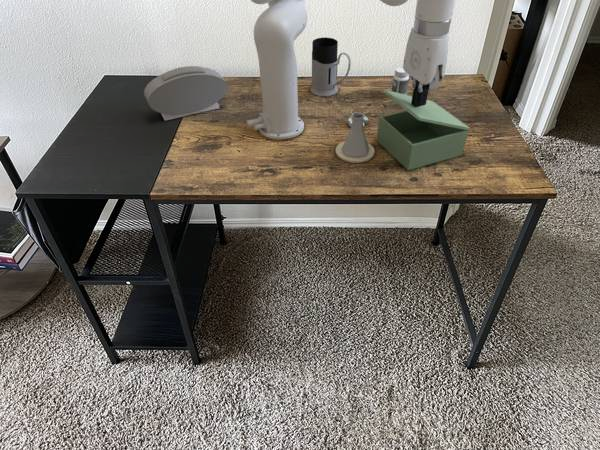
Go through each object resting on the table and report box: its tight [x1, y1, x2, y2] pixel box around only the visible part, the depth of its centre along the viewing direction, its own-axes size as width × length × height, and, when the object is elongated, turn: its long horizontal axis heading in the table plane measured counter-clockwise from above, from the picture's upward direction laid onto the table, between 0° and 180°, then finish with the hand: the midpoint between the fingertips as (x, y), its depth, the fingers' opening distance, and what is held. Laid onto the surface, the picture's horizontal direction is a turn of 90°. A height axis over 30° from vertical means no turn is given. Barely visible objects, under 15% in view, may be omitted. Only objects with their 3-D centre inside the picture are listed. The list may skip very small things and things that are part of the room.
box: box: [376, 109, 469, 171], centre depth 116 cm, size 16×15×7 cm
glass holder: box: [310, 36, 352, 97], centre depth 137 cm, size 9×14×15 cm, turn 46°
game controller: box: [339, 109, 369, 129], centre depth 128 cm, size 6×12×3 cm, turn 49°
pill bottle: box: [391, 66, 410, 95], centre depth 137 cm, size 5×5×8 cm
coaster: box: [335, 140, 376, 164], centre depth 117 cm, size 10×10×1 cm
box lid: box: [383, 89, 470, 131], centre depth 111 cm, size 17×15×1 cm
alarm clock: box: [143, 65, 229, 121], centre depth 131 cm, size 23×6×13 cm, turn 115°
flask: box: [342, 111, 369, 157], centre depth 113 cm, size 7×7×10 cm
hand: (418, 104), depth 109 cm, fingers closed
